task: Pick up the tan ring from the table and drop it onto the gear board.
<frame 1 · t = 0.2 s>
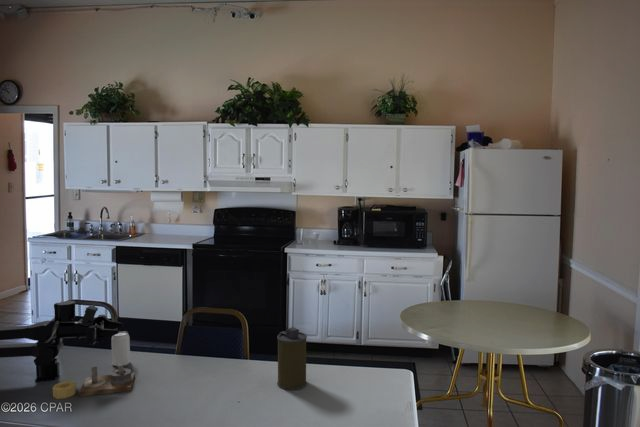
hand: (120, 328, 175), 16 cm above the table, tool horizontal, fingers open, 9 cm apart
tan ring: (64, 394, 158), on the table
canister: (291, 384, 167), on the table
can: (121, 364, 184), on the table
gear board: (108, 385, 164), on the table
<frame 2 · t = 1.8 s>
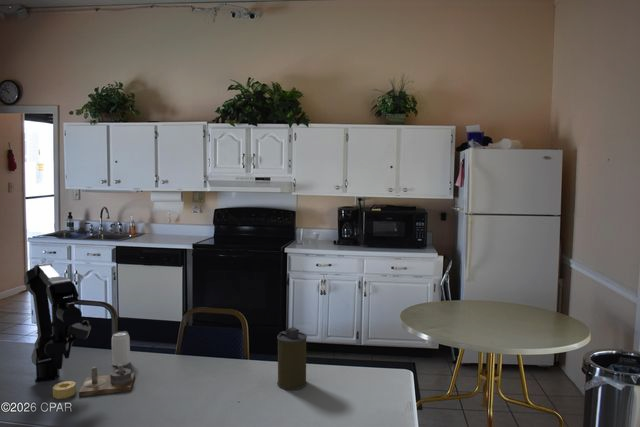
hand: (63, 363, 157), 11 cm above the table, tool pointing down, fingers open, 9 cm apart
nothing on the table moved.
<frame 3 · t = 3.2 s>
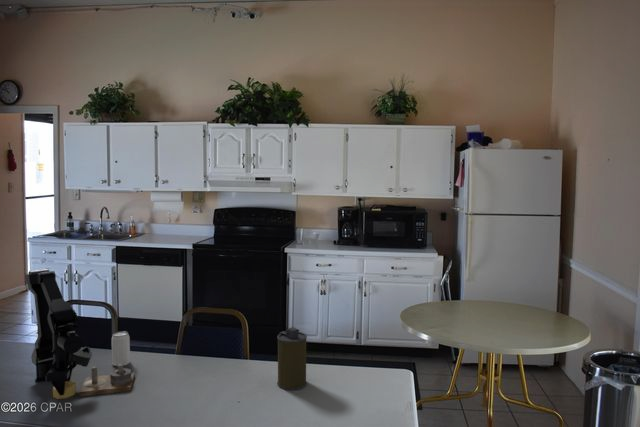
hand: (64, 390, 158), 1 cm above the table, tool pointing down, fingers closed on tan ring, 6 cm apart
tan ring: (64, 394, 158), on the table, touching gripper
everything else where it was.
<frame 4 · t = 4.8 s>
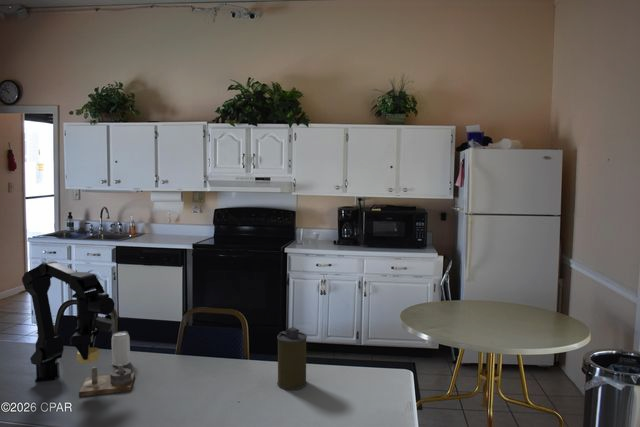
hand: (88, 355, 161), 12 cm above the table, tool pointing down, fingers closed on tan ring, 6 cm apart
tan ring: (88, 359, 161), point 10 cm above the table, touching gripper
everything else where it was.
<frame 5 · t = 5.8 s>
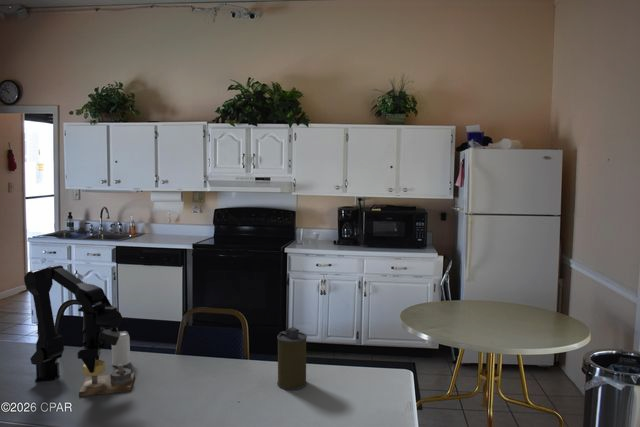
hand: (94, 368, 162), 7 cm above the table, tool pointing down, fingers closed on tan ring, 6 cm apart
tan ring: (94, 372, 162), point 5 cm above the table, touching gripper
everything else where it was.
when the fingers open (5 cm above the table, at t = 6.5 s): tan ring drops 3 cm, resting on gear board.
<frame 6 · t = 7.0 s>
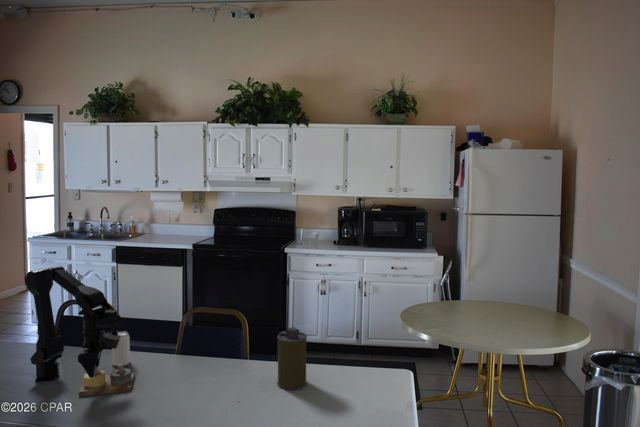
hand: (94, 371, 162), 5 cm above the table, tool pointing down, fingers open, 9 cm apart
tan ring: (94, 382, 163), point 2 cm above the table, touching gear board
everything else where it was.
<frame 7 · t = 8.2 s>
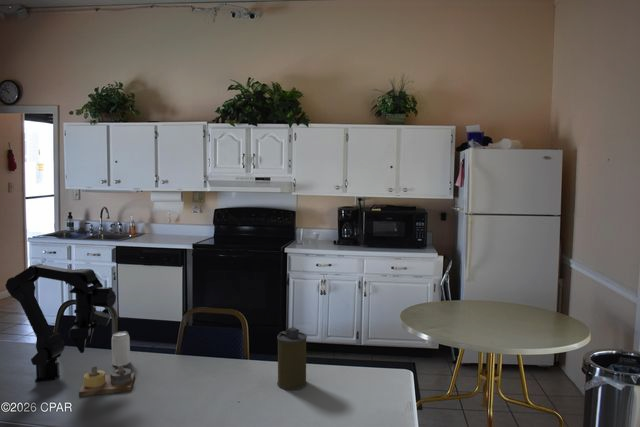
hand: (85, 348, 168), 12 cm above the table, tool pointing down, fingers open, 9 cm apart
nothing on the table moved.
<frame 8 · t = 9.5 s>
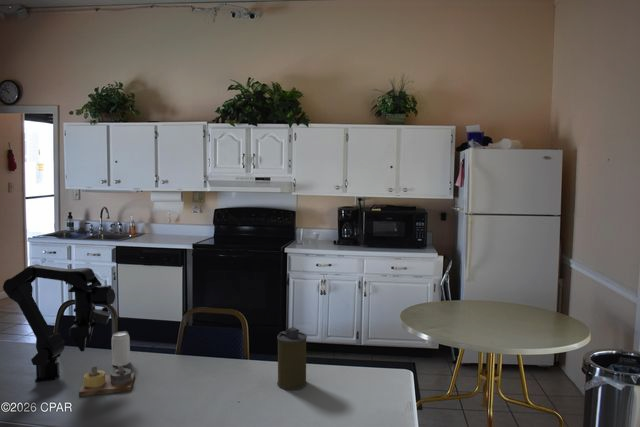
hand: (85, 346, 168), 12 cm above the table, tool pointing down, fingers open, 9 cm apart
nothing on the table moved.
at the end: tan ring 0.1 cm from the target spot on the gear board, point 1.6 cm above the gear board's base; tan ring tilted 0°; the gripper is holding nothing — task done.
